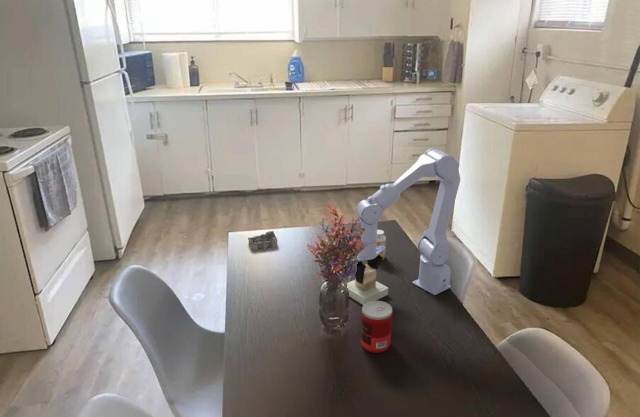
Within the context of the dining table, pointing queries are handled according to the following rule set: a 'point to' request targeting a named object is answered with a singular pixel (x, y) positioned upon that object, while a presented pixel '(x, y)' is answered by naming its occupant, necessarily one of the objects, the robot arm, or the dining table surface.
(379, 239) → the supplement bottle
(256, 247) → the egg carton
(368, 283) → the beech block
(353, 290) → the plinth
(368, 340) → the canned food
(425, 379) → the dining table surface
